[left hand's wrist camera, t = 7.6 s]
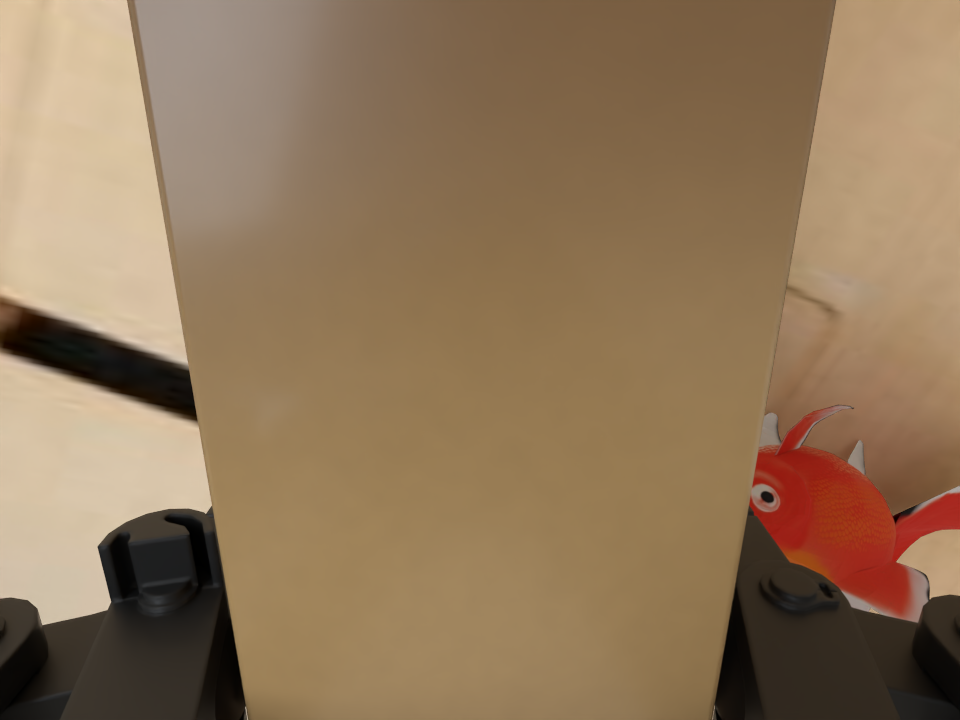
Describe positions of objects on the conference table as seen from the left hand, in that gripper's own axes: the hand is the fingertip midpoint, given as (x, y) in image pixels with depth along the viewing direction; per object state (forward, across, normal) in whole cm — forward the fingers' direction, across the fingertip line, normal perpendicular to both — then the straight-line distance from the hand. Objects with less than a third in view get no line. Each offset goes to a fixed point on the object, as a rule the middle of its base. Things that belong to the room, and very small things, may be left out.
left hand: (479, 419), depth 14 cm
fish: (+12, -16, +8) cm, 21 cm away
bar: (+1, 0, -8) cm, 8 cm away
